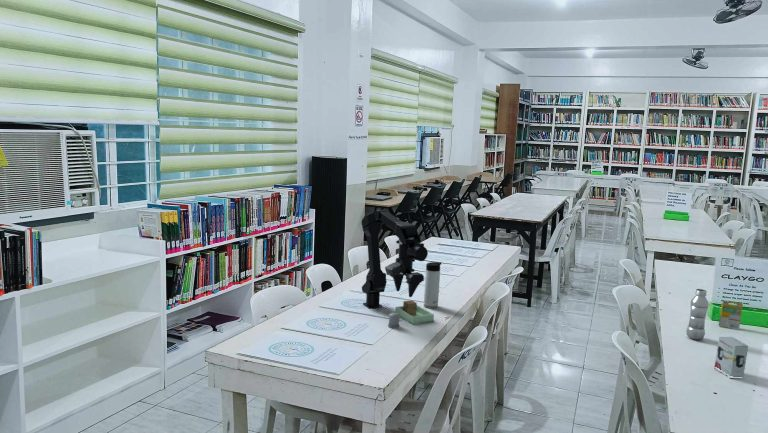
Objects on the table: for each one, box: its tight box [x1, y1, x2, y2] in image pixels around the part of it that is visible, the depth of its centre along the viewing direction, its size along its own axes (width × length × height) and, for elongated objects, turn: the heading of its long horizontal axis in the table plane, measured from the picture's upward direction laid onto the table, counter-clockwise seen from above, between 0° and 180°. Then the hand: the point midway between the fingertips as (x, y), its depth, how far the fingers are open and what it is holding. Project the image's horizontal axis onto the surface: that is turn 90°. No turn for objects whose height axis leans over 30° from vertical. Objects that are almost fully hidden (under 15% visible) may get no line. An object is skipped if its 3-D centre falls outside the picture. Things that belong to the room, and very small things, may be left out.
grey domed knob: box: [387, 312, 401, 329], centre depth 226 cm, size 5×5×5 cm
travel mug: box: [423, 261, 442, 310], centre depth 252 cm, size 6×7×20 cm
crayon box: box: [718, 300, 744, 331], centre depth 244 cm, size 7×3×12 cm, turn 65°
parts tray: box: [394, 304, 435, 325], centre depth 238 cm, size 14×10×3 cm
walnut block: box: [402, 300, 418, 315], centre depth 241 cm, size 4×4×5 cm
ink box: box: [714, 336, 749, 378], centre depth 196 cm, size 9×5×12 cm, turn 5°
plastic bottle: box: [686, 288, 710, 341], centre depth 227 cm, size 6×7×20 cm
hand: (404, 294), depth 232 cm, fingers open, 9 cm apart
